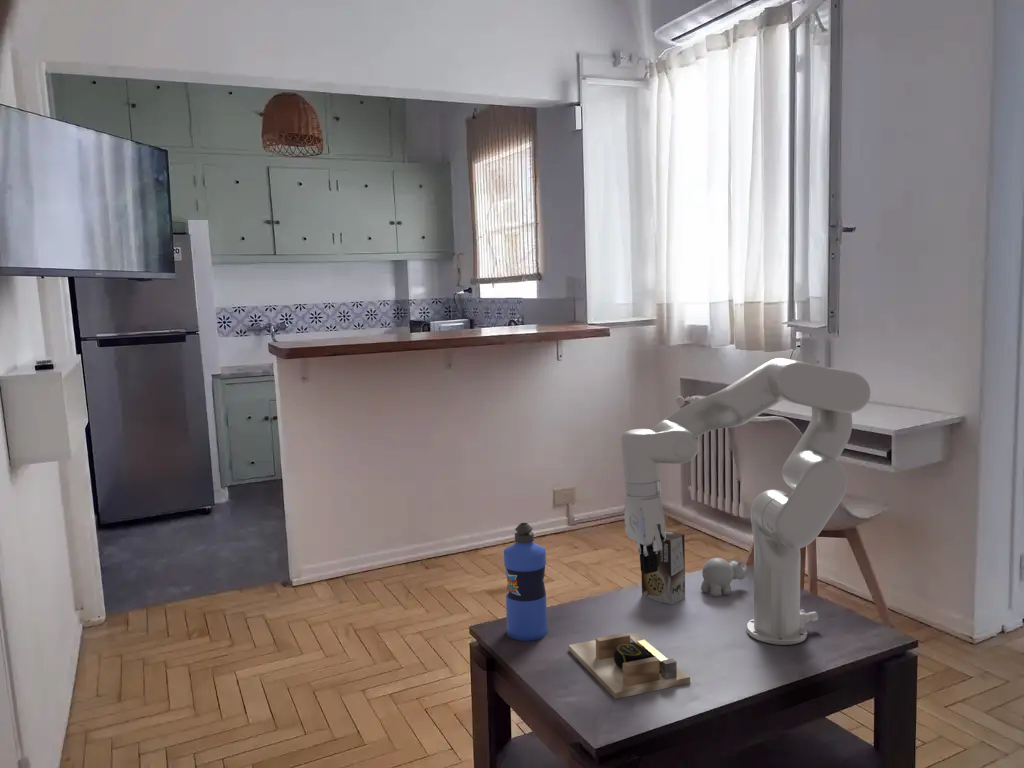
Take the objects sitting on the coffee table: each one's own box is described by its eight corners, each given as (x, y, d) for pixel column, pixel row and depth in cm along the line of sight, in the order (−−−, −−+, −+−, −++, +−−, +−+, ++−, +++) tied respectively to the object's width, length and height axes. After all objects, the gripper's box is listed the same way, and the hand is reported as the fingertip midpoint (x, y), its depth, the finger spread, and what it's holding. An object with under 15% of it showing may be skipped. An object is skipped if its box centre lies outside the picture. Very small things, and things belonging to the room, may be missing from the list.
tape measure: (656, 670, 157) (656, 651, 157) (627, 678, 154) (626, 659, 154) (635, 656, 163) (635, 638, 163) (607, 664, 160) (607, 646, 160)
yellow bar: (644, 649, 165) (644, 639, 165) (669, 670, 156) (668, 660, 155) (637, 650, 165) (637, 641, 164) (661, 671, 155) (661, 661, 155)
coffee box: (686, 597, 196) (686, 533, 194) (671, 605, 192) (671, 540, 190) (655, 588, 203) (654, 526, 201) (640, 596, 198) (639, 533, 196)
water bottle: (535, 620, 185) (532, 515, 183) (555, 635, 177) (552, 525, 174) (499, 629, 181) (495, 522, 178) (518, 644, 173) (514, 532, 170)
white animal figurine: (756, 592, 198) (756, 557, 197) (713, 600, 194) (713, 565, 193) (737, 582, 205) (737, 549, 204) (696, 590, 201) (695, 556, 200)
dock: (636, 637, 175) (635, 614, 174) (690, 682, 154) (690, 657, 153) (568, 650, 170) (568, 626, 169) (615, 699, 149) (614, 672, 148)
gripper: (611, 483, 174) (617, 564, 176) (644, 498, 160) (651, 586, 162) (641, 478, 177) (647, 558, 179) (677, 492, 163) (683, 578, 165)
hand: (649, 571), depth 171 cm, fingers closed
